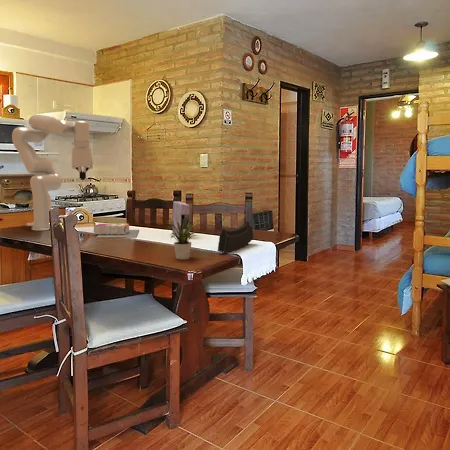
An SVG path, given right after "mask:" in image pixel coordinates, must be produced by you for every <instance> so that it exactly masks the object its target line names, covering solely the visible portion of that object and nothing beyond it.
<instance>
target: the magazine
mask: <svg viewBox="0 0 450 450" xmlns="http://www.w3.org/2000/svg"><path fill="white" fill-rule="evenodd" d="M253 233H254V231H253V229H252V226H251V225H250V221H245V222H244V223H243V224H242V225H241V226H239V227H237V228H234V229H230V230H227V229H226V228H223V229H221V233H219V239H218V246H217V252H219V253H226V252H235V251H238V250H241V249H243V248H244V247H245V246H249V244H250V242H252V241H253V239H254V234H253Z"/></svg>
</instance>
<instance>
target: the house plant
mask: <svg viewBox="0 0 450 450" xmlns="http://www.w3.org/2000/svg"><path fill="white" fill-rule="evenodd" d="M184 220H185V219H184ZM176 221H177V220H176ZM167 222H168V223H167V224H169V226H168V227H169V228H171V229H173V227H174V228H175V229H176V227H175V226H174V225H173V223H172V222H171V221H168V220H167ZM176 223H177V226H178V229H179V232H178V230H177V229H176V231H177V233H178V235H179V237H178V236H177V234H176V232H175V231H174V229H173V231H174V232H175V233H173V232H172V233H169V235H170V239H172V238H174V239H175V240H176V241H175V242H173V246H174V253H175V257H176V258H175V259H177V260H188V259H190V254H191V250H192V241H189V240H190V239H191V238H192V237H194V236H197V235H196V234H195V232H190V231H191V229H193V228H194V227H195V225H197V224H199V222H196V223H194V224H190V222H189V223H188V225H187V228H186V231H185V232H183V227H184V224H183V226H182V229H181V226H180V225H179V222H178V221H177V222H176ZM170 225H171V226H170ZM194 234H195V235H194ZM188 237H189V238H188Z"/></svg>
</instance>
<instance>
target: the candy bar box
mask: <svg viewBox="0 0 450 450" xmlns="http://www.w3.org/2000/svg"><path fill="white" fill-rule="evenodd" d="M129 230H130V223H98V224H96V225H94V226H93V234H94V236H95V235H96V236H98V235H125V234H127V233H128V232H129Z"/></svg>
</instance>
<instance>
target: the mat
mask: <svg viewBox="0 0 450 450" xmlns="http://www.w3.org/2000/svg"><path fill="white" fill-rule="evenodd" d="M139 232H140V229H129V232H128V233H127V234H125V235H96V239H121V238H122V239H125V238H126V239H127V238H128V239H129V238H137V237H138V234H139Z"/></svg>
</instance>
